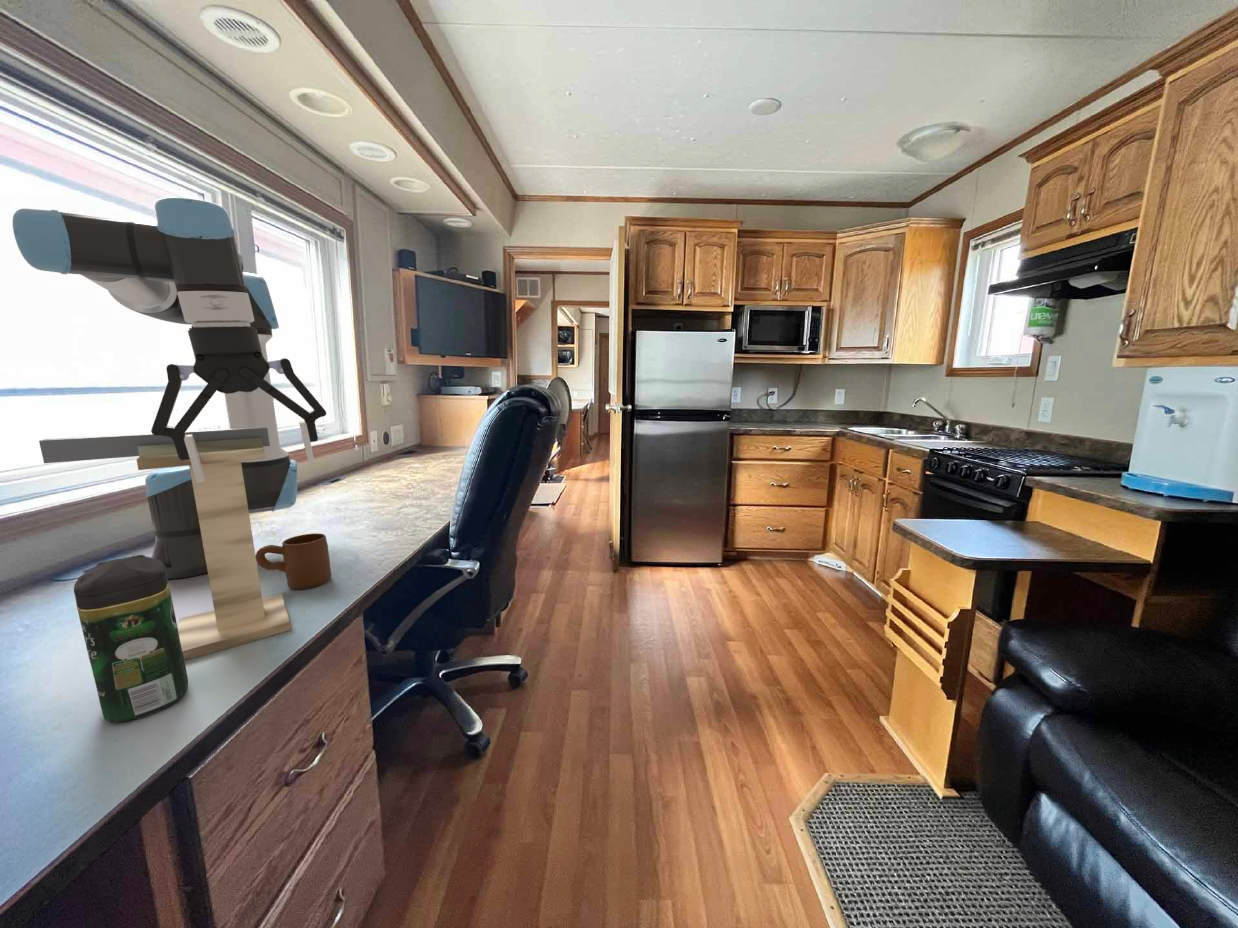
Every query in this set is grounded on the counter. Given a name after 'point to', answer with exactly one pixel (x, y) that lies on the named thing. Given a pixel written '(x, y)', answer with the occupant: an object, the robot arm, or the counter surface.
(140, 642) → the coffee jar
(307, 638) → the counter surface
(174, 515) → the robot arm
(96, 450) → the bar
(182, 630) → the stand
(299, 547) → the mug
